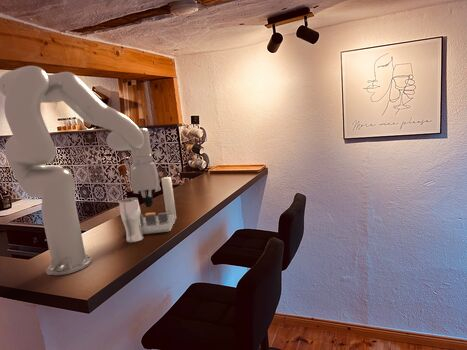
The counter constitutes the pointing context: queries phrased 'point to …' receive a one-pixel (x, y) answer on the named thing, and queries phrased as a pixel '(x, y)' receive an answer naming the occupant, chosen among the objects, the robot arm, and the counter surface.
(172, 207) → the post
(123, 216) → the beer glass
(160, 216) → the grey rectangular box
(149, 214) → the paddle mid
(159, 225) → the breaker panel
